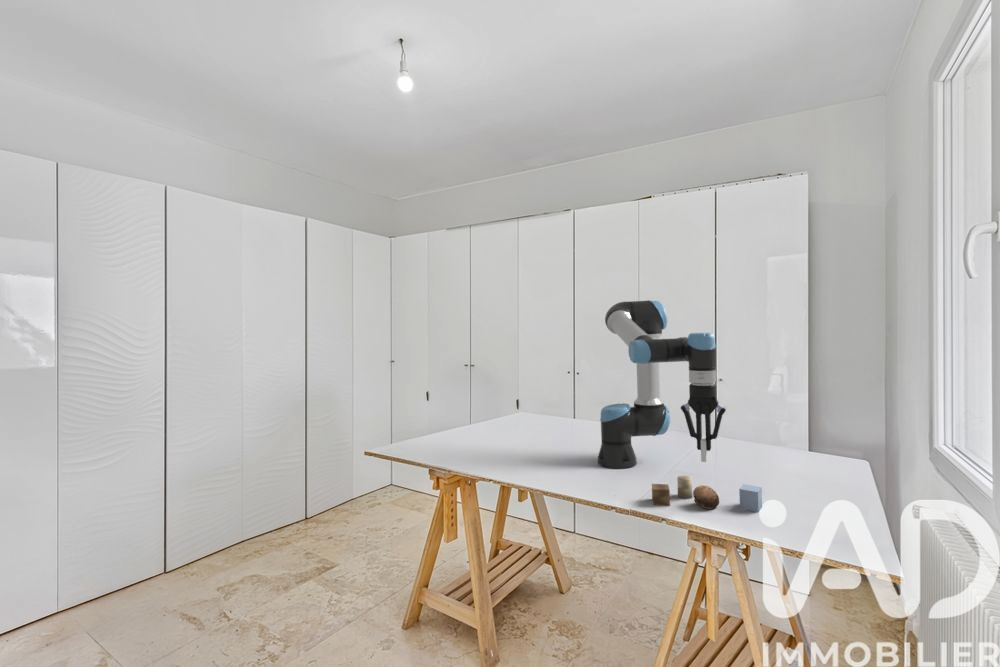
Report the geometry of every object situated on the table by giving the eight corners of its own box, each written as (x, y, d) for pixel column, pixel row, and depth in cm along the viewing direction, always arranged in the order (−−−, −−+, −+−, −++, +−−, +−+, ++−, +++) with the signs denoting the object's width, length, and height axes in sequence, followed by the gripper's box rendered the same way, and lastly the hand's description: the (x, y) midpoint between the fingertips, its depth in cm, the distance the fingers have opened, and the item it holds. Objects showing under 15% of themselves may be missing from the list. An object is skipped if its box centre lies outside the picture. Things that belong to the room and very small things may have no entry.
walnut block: (653, 505, 151) (652, 489, 150) (652, 499, 155) (651, 483, 155) (670, 506, 149) (669, 489, 149) (668, 500, 154) (668, 484, 154)
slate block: (739, 508, 145) (739, 488, 145) (744, 503, 149) (743, 484, 149) (758, 512, 142) (757, 492, 142) (762, 506, 146) (761, 487, 145)
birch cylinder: (676, 497, 156) (676, 479, 155) (679, 493, 159) (678, 475, 159) (691, 499, 153) (690, 481, 153) (693, 495, 157) (692, 476, 157)
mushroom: (684, 490, 153) (695, 477, 149) (707, 498, 153) (718, 485, 150) (690, 511, 146) (702, 498, 143) (714, 519, 146) (726, 506, 143)
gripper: (677, 384, 147) (679, 461, 148) (725, 386, 140) (726, 466, 141) (681, 381, 153) (683, 454, 154) (727, 382, 147) (728, 459, 148)
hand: (704, 460), depth 148 cm, fingers closed
